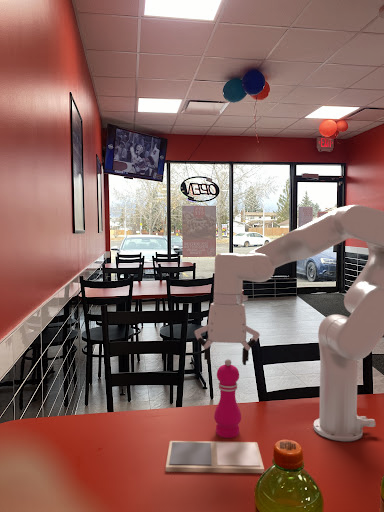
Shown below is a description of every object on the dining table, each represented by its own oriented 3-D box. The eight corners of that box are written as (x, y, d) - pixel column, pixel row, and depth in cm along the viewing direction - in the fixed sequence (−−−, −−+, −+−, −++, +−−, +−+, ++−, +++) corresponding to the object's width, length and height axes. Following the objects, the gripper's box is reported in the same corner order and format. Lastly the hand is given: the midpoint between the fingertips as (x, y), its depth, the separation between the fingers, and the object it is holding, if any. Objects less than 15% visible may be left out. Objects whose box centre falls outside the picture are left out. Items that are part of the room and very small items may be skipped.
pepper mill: (240, 427, 114) (241, 355, 113) (241, 439, 107) (242, 363, 106) (214, 425, 115) (215, 355, 114) (213, 438, 108) (213, 362, 107)
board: (257, 446, 104) (257, 441, 104) (264, 473, 92) (264, 468, 92) (169, 444, 104) (169, 440, 104) (165, 471, 92) (165, 466, 92)
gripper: (258, 298, 113) (256, 360, 114) (195, 296, 113) (194, 358, 114) (262, 302, 105) (260, 368, 106) (195, 300, 106) (193, 366, 106)
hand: (226, 363), depth 110 cm, fingers open, 9 cm apart
